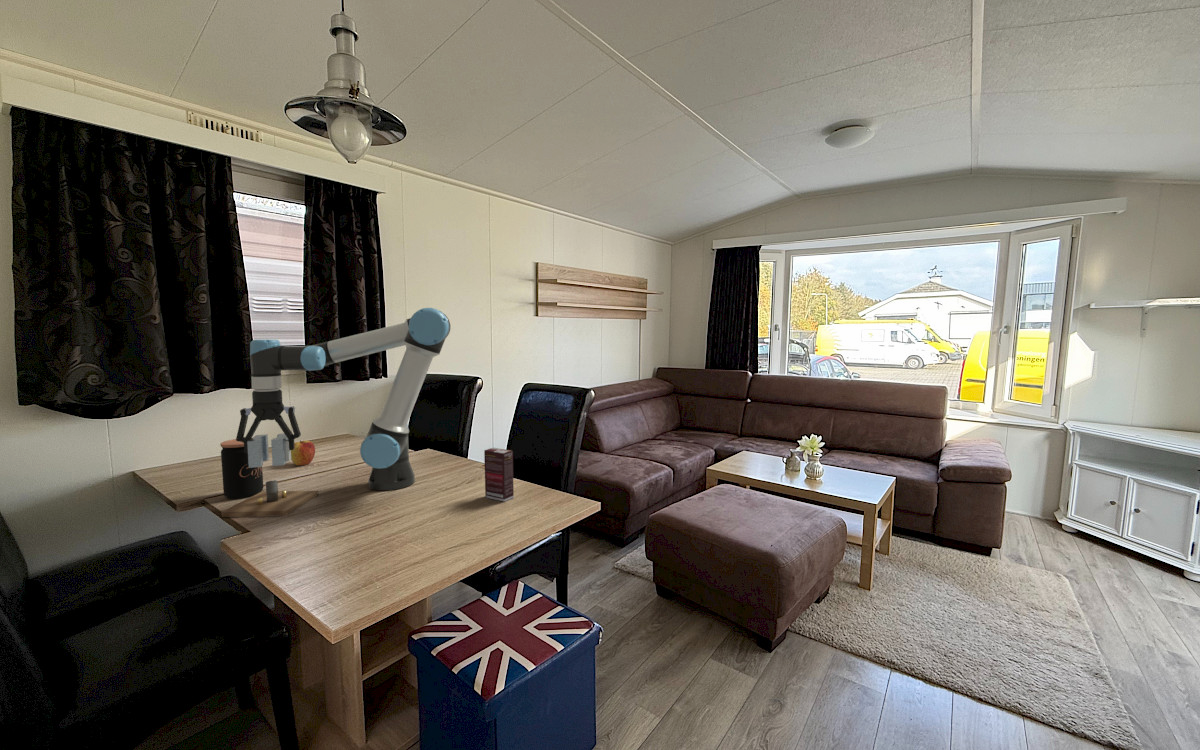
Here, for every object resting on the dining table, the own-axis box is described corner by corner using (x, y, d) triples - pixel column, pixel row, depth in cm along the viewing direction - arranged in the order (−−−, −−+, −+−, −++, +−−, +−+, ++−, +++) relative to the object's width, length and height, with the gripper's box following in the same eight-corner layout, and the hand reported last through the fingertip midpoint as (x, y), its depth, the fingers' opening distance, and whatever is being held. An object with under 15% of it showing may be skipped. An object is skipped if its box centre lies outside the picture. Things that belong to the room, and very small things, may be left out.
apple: (306, 467, 190) (305, 443, 189) (284, 467, 190) (282, 443, 189) (320, 461, 199) (319, 438, 198) (299, 461, 199) (297, 438, 199)
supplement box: (514, 497, 156) (513, 450, 155) (504, 502, 152) (503, 453, 151) (494, 493, 160) (493, 447, 159) (484, 497, 156) (483, 450, 155)
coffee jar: (242, 500, 153) (239, 445, 151) (215, 498, 155) (211, 444, 153) (271, 490, 163) (268, 438, 162) (245, 488, 165) (242, 437, 164)
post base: (318, 495, 158) (316, 473, 158) (285, 515, 140) (283, 491, 140) (262, 495, 157) (260, 473, 157) (221, 516, 139) (219, 491, 139)
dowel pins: (285, 496, 153) (284, 490, 152) (287, 496, 152) (287, 490, 152) (257, 504, 145) (256, 498, 145) (259, 505, 145) (259, 498, 145)
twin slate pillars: (291, 457, 154) (289, 433, 153) (284, 465, 146) (282, 439, 145) (257, 459, 151) (256, 435, 150) (248, 467, 142) (247, 441, 142)
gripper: (310, 387, 154) (313, 455, 156) (228, 389, 146) (232, 461, 148) (305, 390, 147) (308, 461, 149) (219, 392, 139) (223, 468, 141)
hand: (270, 461), depth 148 cm, fingers closed on twin slate pillars, 9 cm apart
